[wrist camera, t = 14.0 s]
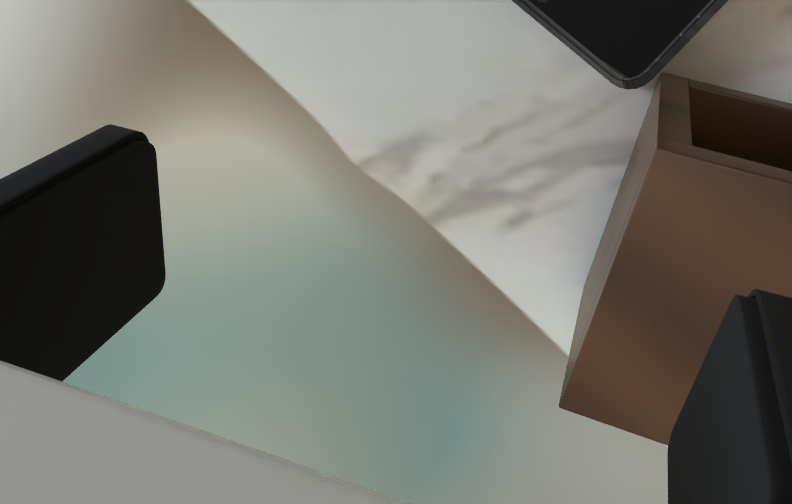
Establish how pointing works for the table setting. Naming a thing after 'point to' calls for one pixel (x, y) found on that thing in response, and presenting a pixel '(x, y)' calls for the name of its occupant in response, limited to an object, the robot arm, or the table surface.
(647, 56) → the phone
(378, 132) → the table surface
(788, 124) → the desk shelf
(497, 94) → the table surface
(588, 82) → the table surface
